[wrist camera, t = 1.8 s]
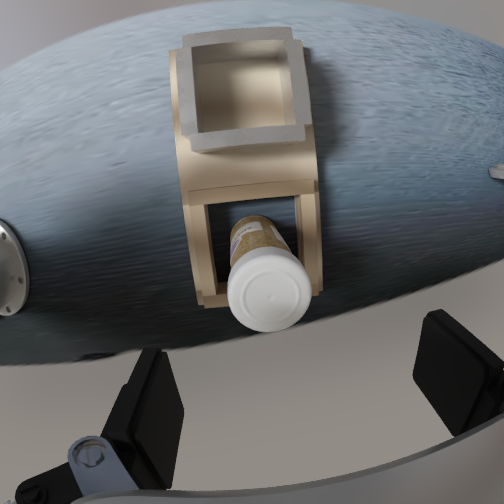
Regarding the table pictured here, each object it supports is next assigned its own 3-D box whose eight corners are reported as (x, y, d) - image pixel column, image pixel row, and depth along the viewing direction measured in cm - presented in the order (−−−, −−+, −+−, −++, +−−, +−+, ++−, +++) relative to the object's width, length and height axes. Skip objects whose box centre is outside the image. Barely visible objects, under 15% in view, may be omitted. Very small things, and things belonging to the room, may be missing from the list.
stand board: (318, 285, 30) (326, 297, 28) (199, 298, 30) (196, 312, 27) (298, 45, 24) (305, 33, 21) (171, 56, 23) (165, 45, 21)
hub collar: (300, 144, 25) (313, 139, 21) (191, 154, 25) (183, 152, 21) (288, 46, 23) (298, 27, 18) (183, 55, 22) (174, 36, 18)
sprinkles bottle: (232, 212, 28) (230, 252, 15) (281, 216, 28) (320, 259, 15) (228, 260, 29) (224, 333, 16) (275, 263, 30) (306, 336, 17)
